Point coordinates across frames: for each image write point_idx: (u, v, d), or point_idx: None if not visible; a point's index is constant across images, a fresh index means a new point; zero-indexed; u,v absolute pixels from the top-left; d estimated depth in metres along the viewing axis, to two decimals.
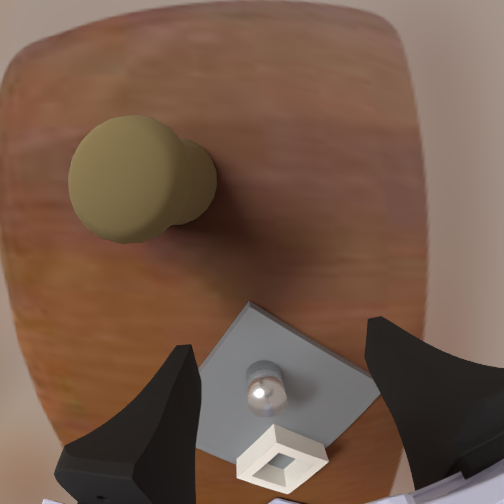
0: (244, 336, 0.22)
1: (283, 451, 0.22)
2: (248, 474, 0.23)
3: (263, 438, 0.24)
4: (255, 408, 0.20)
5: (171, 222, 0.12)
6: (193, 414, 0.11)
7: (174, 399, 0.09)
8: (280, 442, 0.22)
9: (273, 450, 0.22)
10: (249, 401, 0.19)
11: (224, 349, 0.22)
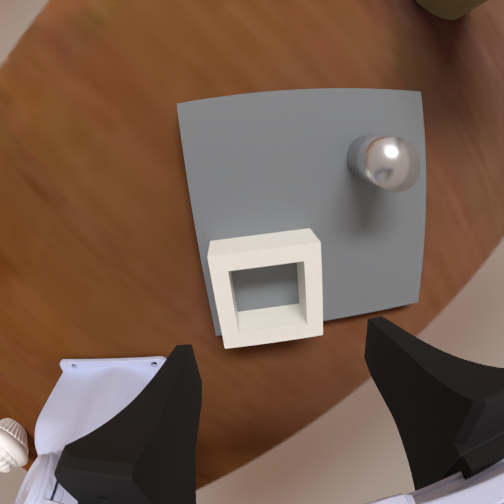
0: (393, 105, 0.16)
1: (310, 264, 0.16)
2: (228, 264, 0.16)
3: (284, 234, 0.18)
4: (382, 156, 0.13)
5: None
6: (193, 414, 0.11)
7: (174, 399, 0.09)
8: None
9: (303, 251, 0.16)
10: (387, 141, 0.13)
11: (366, 95, 0.16)
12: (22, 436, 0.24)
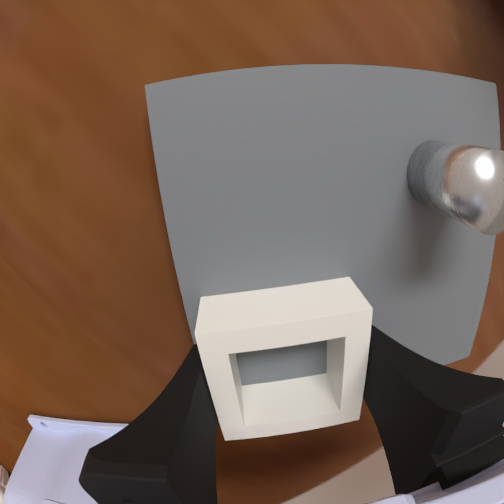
0: (466, 99, 0.10)
1: (354, 340, 0.10)
2: (228, 344, 0.10)
3: (314, 289, 0.11)
4: (480, 179, 0.07)
5: None
6: (213, 413, 0.11)
7: (197, 398, 0.09)
8: None
9: (345, 322, 0.10)
10: (487, 155, 0.07)
11: (433, 81, 0.09)
12: (3, 477, 0.18)
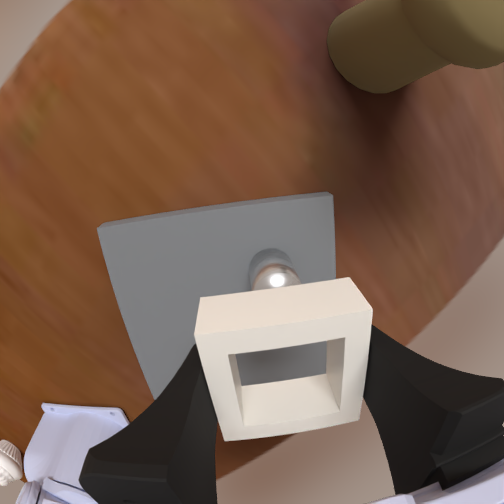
0: (299, 215, 0.18)
1: (353, 341, 0.10)
2: (228, 345, 0.10)
3: (313, 290, 0.11)
4: None
5: (475, 62, 0.08)
6: (212, 413, 0.11)
7: (197, 397, 0.09)
8: None
9: (345, 323, 0.10)
10: (267, 279, 0.16)
11: (268, 209, 0.18)
12: (17, 455, 0.27)
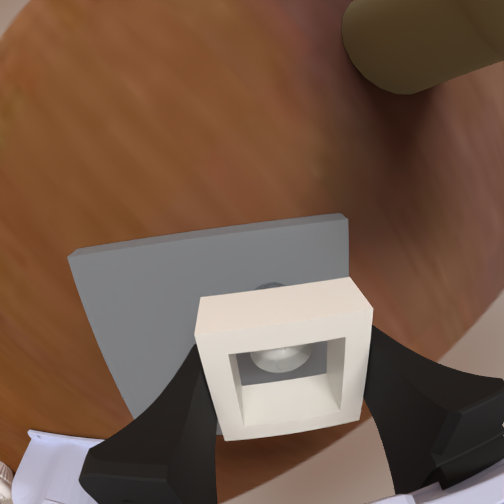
0: (306, 244, 0.15)
1: (354, 340, 0.10)
2: (228, 345, 0.10)
3: (314, 289, 0.11)
4: None
5: None
6: (212, 413, 0.11)
7: (196, 398, 0.09)
8: None
9: (346, 323, 0.10)
10: None
11: (270, 236, 0.15)
12: (8, 475, 0.24)
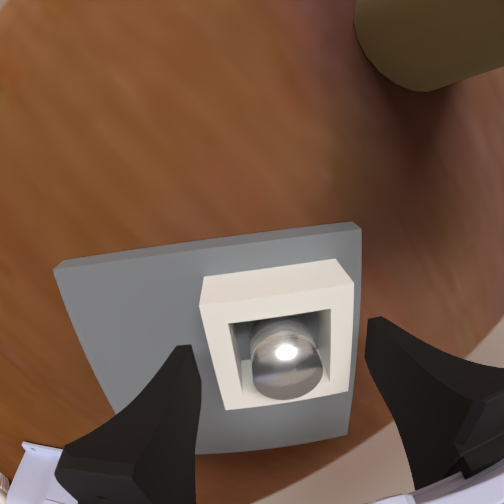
0: (315, 257, 0.13)
1: (338, 312, 0.12)
2: (228, 315, 0.11)
3: (303, 269, 0.13)
4: (265, 371, 0.11)
5: None
6: (193, 414, 0.11)
7: (174, 399, 0.09)
8: None
9: (330, 295, 0.11)
10: (272, 356, 0.11)
11: (275, 249, 0.13)
12: (4, 484, 0.22)
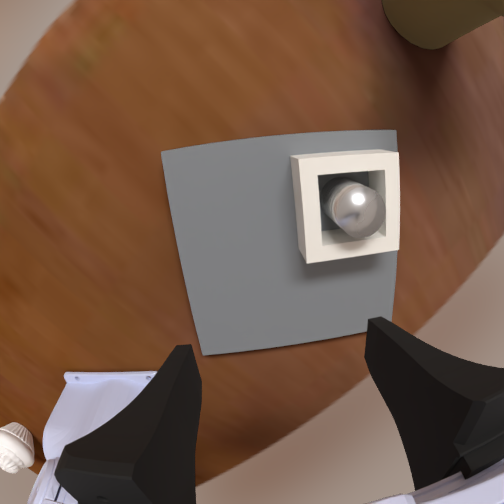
0: (367, 146, 0.18)
1: (390, 173, 0.16)
2: (318, 168, 0.16)
3: (360, 151, 0.17)
4: (347, 206, 0.15)
5: None
6: (193, 414, 0.11)
7: (174, 399, 0.09)
8: None
9: (384, 159, 0.16)
10: (353, 192, 0.15)
11: (340, 138, 0.17)
12: (28, 439, 0.26)
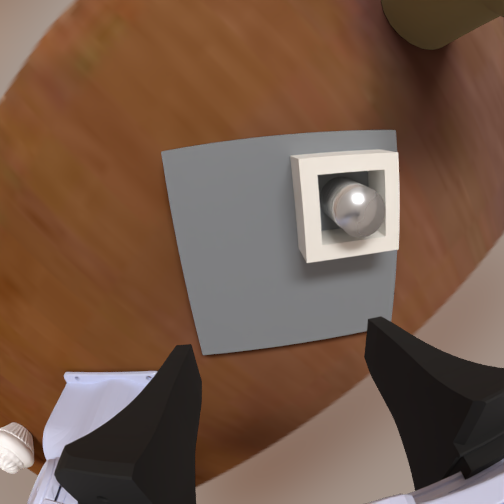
0: (366, 146, 0.18)
1: (389, 173, 0.16)
2: (317, 167, 0.16)
3: (360, 151, 0.17)
4: (347, 206, 0.15)
5: None
6: (193, 414, 0.11)
7: (174, 399, 0.09)
8: None
9: (384, 159, 0.16)
10: (352, 192, 0.15)
11: (340, 138, 0.17)
12: (28, 439, 0.26)
